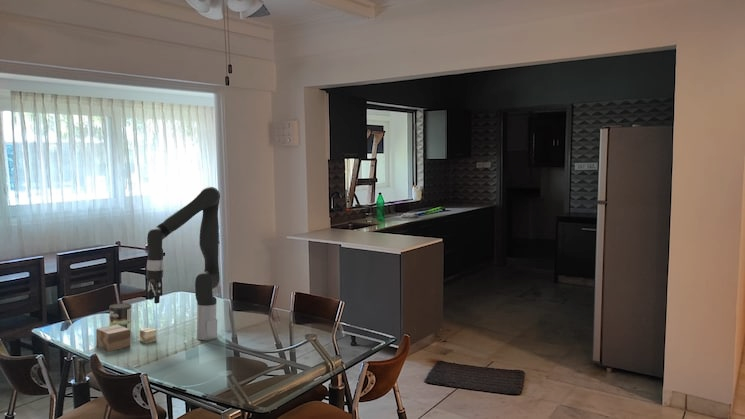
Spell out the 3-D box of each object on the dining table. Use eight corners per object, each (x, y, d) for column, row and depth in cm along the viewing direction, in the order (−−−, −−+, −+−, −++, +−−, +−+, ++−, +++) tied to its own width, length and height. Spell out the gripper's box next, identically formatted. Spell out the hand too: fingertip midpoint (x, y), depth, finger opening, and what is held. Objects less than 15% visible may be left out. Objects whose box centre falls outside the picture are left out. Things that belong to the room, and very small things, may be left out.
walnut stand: (130, 346, 254) (130, 329, 254) (108, 351, 247) (108, 334, 246) (117, 340, 262) (117, 324, 261) (96, 345, 254) (96, 328, 253)
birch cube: (156, 340, 264) (156, 329, 264) (145, 343, 260) (145, 332, 259) (150, 338, 267) (150, 327, 267) (139, 340, 263) (139, 329, 263)
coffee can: (118, 337, 267) (118, 309, 266) (104, 333, 272) (104, 306, 271) (136, 332, 276) (136, 305, 275) (122, 328, 281) (122, 302, 280)
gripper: (168, 270, 261) (166, 303, 262) (157, 265, 272) (156, 297, 273) (152, 271, 256) (150, 305, 257) (142, 266, 267) (140, 298, 268)
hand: (153, 301), depth 265 cm, fingers open, 8 cm apart
